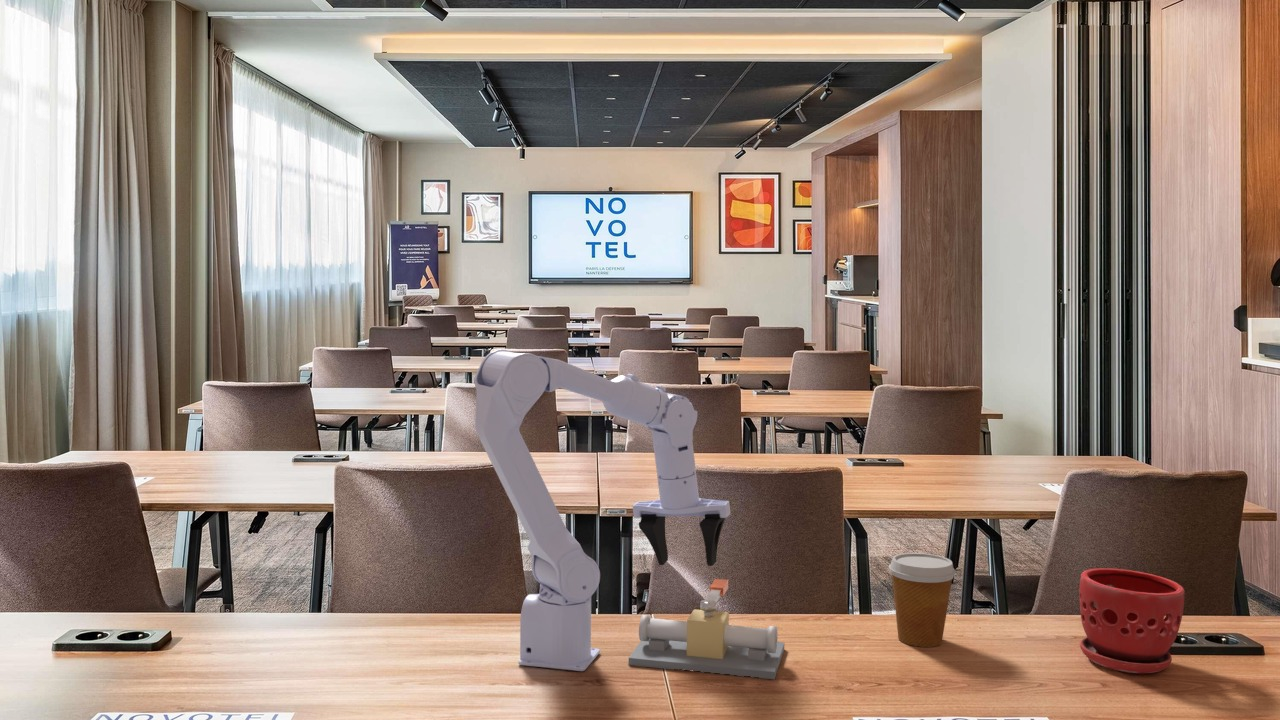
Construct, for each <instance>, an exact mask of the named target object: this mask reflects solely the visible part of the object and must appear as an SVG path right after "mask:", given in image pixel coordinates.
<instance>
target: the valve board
mask: <svg viewBox="0 0 1280 720" xmlns="http://www.w3.org/2000/svg"><path fill="white" fill-rule="evenodd" d="M729 617H730V613H729V611H718V610H715V611H710V612H708V611H702V610H701V609H693V610H692V612H691V614H690V615H689V616H688V617H687V620H685V621H684V620H673V619H662V618H653V617H652V616H651V615H650V614H642V615H641V617H640V620H639V625H638V637H639V641H640V642H639V643H638V645H637V646H636V647H635V648H634V650H633V651H632V653H631V654H630V656H628V666H635V667H644V668H646V667H648V668H653V669H654V668H655V669H656V668H657V669H665V670H674V669H678V670H677V671H680V670H679V669H682V670H681V671H684V670H683V669H685V670H693V671H692V672H694V671H702V672H701V673H704V672H711V673H710V674H714V673H720V674H719V675H724V674H730V675H729V676H734V675H737V676H738V677H744V676H752V677H751V678H754V677H759V678H758V679H764V680H765V679H767V680H774V681H775V679H776V676H777V673H778V669H779V667H780V664H781V661H782V657H783V654H784V652H785V642H781V641H778V636H779V634H778V626H774V625H769V626H768V627H767V628H766V627H765V628H763V627H752V626H742V625H733V624H732V625H730V624H729V623H730V622H729V620H730V619H729ZM737 676H736V677H737Z"/></svg>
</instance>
